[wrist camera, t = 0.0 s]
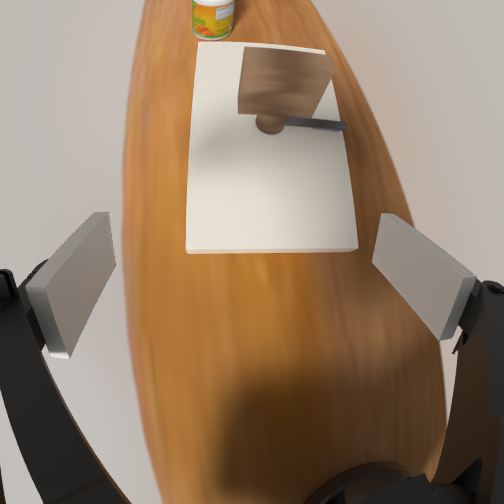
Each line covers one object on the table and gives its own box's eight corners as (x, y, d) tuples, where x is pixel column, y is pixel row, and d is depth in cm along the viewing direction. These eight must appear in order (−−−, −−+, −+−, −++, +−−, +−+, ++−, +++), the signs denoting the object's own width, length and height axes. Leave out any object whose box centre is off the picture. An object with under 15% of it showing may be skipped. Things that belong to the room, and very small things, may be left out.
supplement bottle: (185, 28, 35) (183, -26, 26) (217, 16, 36) (221, -36, 27) (206, 46, 35) (207, -11, 25) (239, 33, 36) (246, -21, 26)
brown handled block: (235, 133, 30) (244, 67, 20) (235, 109, 30) (244, 42, 21) (345, 140, 31) (385, 86, 22) (341, 117, 32) (377, 61, 22)
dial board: (350, 252, 31) (359, 247, 29) (187, 253, 29) (185, 248, 27) (320, 60, 36) (325, 49, 34) (198, 52, 34) (198, 40, 32)
